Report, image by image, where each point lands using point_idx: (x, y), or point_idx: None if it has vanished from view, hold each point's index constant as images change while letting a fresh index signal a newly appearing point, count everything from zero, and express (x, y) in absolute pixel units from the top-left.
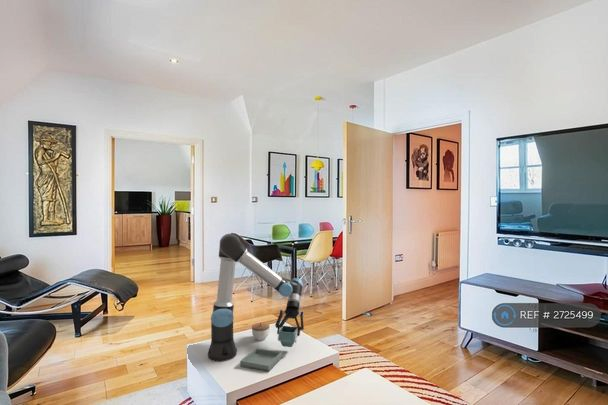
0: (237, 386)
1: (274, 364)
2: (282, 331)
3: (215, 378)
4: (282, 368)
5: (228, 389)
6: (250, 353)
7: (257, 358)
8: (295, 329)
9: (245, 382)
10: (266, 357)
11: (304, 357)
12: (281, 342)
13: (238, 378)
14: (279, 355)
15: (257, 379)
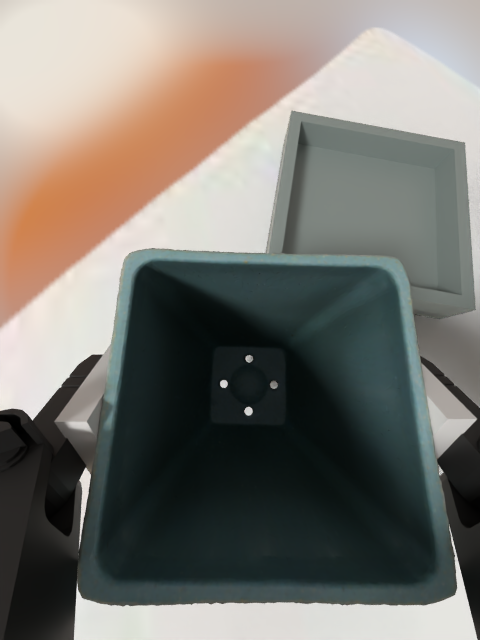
0: (363, 49)
1: (277, 187)
2: (369, 437)
3: (474, 85)
4: (228, 180)
5: (384, 33)
6: (461, 226)
7: (394, 232)
8: (151, 537)
9: (347, 71)
10: (349, 251)
11: None
12: (303, 321)
13: (388, 92)
14: (271, 231)
15: (310, 92)
